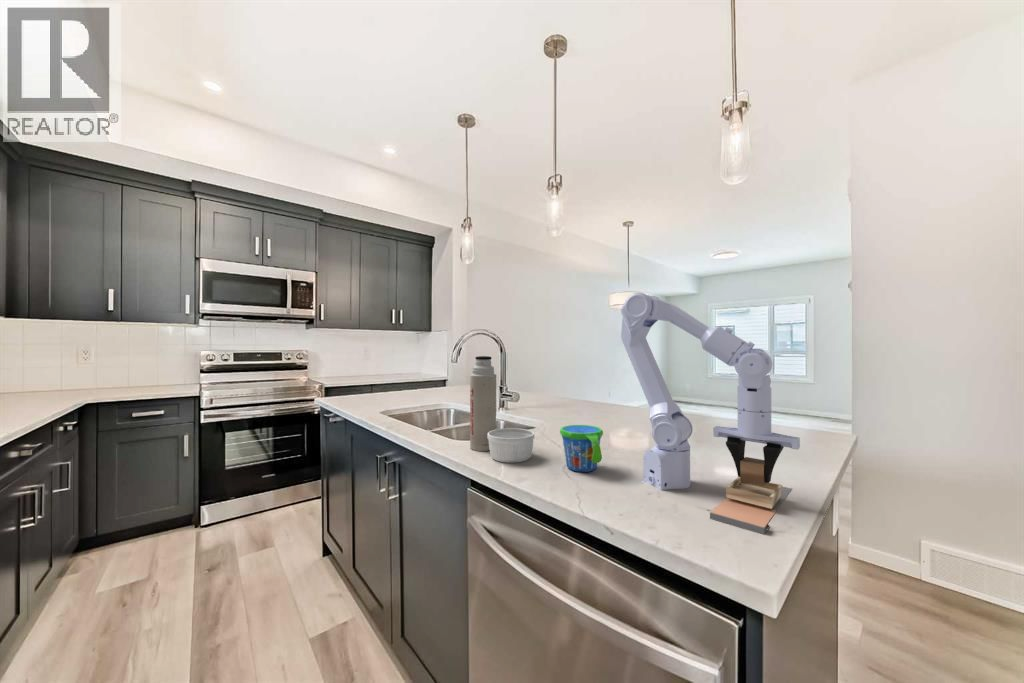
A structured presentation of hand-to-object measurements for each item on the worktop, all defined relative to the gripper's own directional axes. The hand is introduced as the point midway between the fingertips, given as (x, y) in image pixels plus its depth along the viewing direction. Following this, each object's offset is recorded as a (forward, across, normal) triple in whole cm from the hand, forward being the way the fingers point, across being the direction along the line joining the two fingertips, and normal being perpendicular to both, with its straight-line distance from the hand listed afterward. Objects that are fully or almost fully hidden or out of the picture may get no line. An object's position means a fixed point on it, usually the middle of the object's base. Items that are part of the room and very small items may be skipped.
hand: (754, 478), depth 78 cm
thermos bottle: (+5, +70, +10) cm, 71 cm away
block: (+1, 0, 0) cm, 1 cm away
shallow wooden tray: (+4, 0, 0) cm, 4 cm away
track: (+5, 0, 0) cm, 5 cm away
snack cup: (+5, +38, +5) cm, 38 cm away
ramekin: (+6, +57, +11) cm, 58 cm away
